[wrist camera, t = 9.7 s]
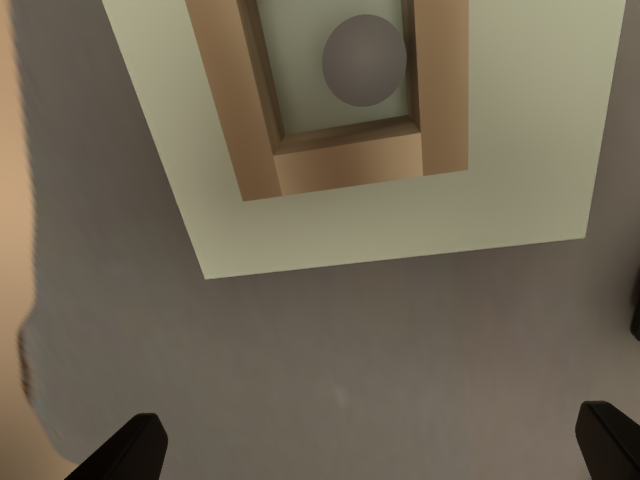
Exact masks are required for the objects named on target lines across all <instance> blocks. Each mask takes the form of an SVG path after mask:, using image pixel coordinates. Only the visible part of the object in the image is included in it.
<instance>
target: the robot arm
mask: <svg viewBox="0 0 640 480" xmlns="http://www.w3.org/2000/svg"><path fill="white" fill-rule="evenodd" d="M631 333H632V334H633V336H634V337H635V338H636V339H637V340H638V341H640V300H639V303H638V307H637V311H636V315H635V319H634V323H633V326H632V330H631ZM575 433H576V438H577V441H578V444H579V447H580V449H581V452H582V455H583V457H584V460H585V462H586V465H587V468H588V470H589V473H590V476H591V478H592V480H640V426H639V425H638V424H637V423H636V422H634V421H633V420H632V419H630V418H629V417H628V416H626V415H625V414H624V413H622V412H621V411H620V410H618V409H617V408H616V407H614V406H613V405H612V404H610V403H608V402H606V401H584V402H583V403H582V404H581V407H580V411H579V415H578V418H577V422H576V426H575ZM167 446H168V436H167V433H166V431H165V429H164V427H163V425H162V423H161V421H160V419H159V417H158V416H157V415H156V414H155V413H140V414H137V415H135V416H134V417H133V418H131V419H130V420H129V421H128V422H127V423H126V424H125V425H124V426H123V427H121V428H120V429H119V430H118V431H117V432H116V433H115V434H114V435H113V436H112V437H110V438H109V439H108V440H107V441H106V442H105V443H104V444H103V445H102V446H100V447H99V448H98V449H97V450H96V451H95V452H94V453H93V454H92V455H90V456H89V457H88V458H87V459H86V460H85V461H84V462H83V463H82V464H81V465H79V466H78V467H77V468H76V469H75V470H74V471H73V472H72V473H71V474H70V475H68V476H67V477H66V478H65V479H64V480H159V477H160V473H161V469H162V465H163V461H164V458H165V454H166V450H167Z"/></svg>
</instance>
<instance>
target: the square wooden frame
mask: <svg viewBox="0 0 640 480" xmlns="http://www.w3.org/2000/svg"><path fill="white" fill-rule="evenodd" d="M185 3H186V6H187V10H188V13H189V17H190V20H191V24H192V27H193V31H194V34H195V38H196V41H197V44H198V48H199V51H200V55H201V58H202V62H203V65H204V69H205V72H206V76H207V79H208V83H209V86H210V89H211V93H212V96H213V100H214V103H215V107H216V110H217V114H218V117H219V121H220V124H221V127H222V131H223V134H224V138H225V141H226V145H227V148H228V152H229V155H230V159H231V162H232V166H233V169H234V172H235V176H236V179H237V183H238V186H239V190H240V193H241V197H242V200H243V202H245V201H252V200H259V199H266V198H273V197H280V196H287V195H294V194H301V193H308V192H315V191H322V190H329V189H337V188H344V187H351V186H358V185H365V184H372V183H379V182H386V181H393V180H400V179H407V178H414V177H421V176H428V175H435V174H443V173H450V172H457V171H464V170H468V99H469V0H401V10H402V25H403V40H404V44H405V48H406V54H407V62H406V69H405V71H406V86H407V101H408V115H404V116H398V117H392V118H386V119H380V120H374V121H367V122H361V123H355V124H349V125H343V126H337V127H331V128H325V129H319V130H313V131H306V132H300V133H294V134H288V135H285V131H284V126H283V122H282V117H281V112H280V108H279V103H278V98H277V94H276V89H275V84H274V80H273V75H272V70H271V66H270V61H269V56H268V52H267V47H266V42H265V38H264V33H263V29H262V24H261V19H260V15H259V10H258V5H257V1H256V0H185Z"/></svg>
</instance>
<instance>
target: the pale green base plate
mask: <svg viewBox="0 0 640 480" xmlns="http://www.w3.org/2000/svg"><path fill="white" fill-rule="evenodd" d="M256 1H257V5H258V10H259V15H260V19H261V24H262V29H263V33H264V38H265V42H266V47H267V52H268V56H269V61H270V66H271V70H272V75H273V80H274V84H275V89H276V94H277V98H278V103H279V108H280V112H281V117H282V122H283V126H284V131H285V135H288V134H294V133H300V132H306V131H313V130H319V129H325V128H331V127H337V126H343V125H349V124H355V123H361V122H367V121H374V120H380V119H386V118H392V117H398V116H404V115H408V101H407V86H406V71H405V69H406V62H407V54H406V48H405V44H404V40H403V25H402V10H401V0H256ZM102 2H103V4H104V7H105V10H106V13H107V15H108V18H109V21H110V23H111V26H112V29H113V31H114V34H115V37H116V40H117V42H118V45H119V48H120V50H121V53H122V56H123V58H124V61H125V64H126V67H127V69H128V72H129V75H130V77H131V80H132V83H133V86H134V88H135V91H136V94H137V96H138V99H139V102H140V104H141V107H142V110H143V113H144V115H145V118H146V121H147V123H148V126H149V129H150V131H151V134H152V137H153V140H154V142H155V145H156V148H157V150H158V153H159V156H160V159H161V161H162V164H163V167H164V169H165V172H166V175H167V177H168V180H169V183H170V186H171V188H172V191H173V194H174V196H175V199H176V202H177V204H178V207H179V210H180V213H181V215H182V218H183V221H184V223H185V226H186V229H187V232H188V234H189V237H190V240H191V242H192V245H193V248H194V250H195V253H196V256H197V259H198V261H199V264H200V267H201V269H202V272H203V275H204V277H205V279H213V278H222V277H232V276H241V275H250V274H259V273H268V272H277V271H286V270H296V269H305V268H314V267H323V266H332V265H341V264H351V263H360V262H369V261H378V260H387V259H396V258H406V257H415V256H424V255H433V254H442V253H451V252H461V251H470V250H479V249H488V248H497V247H506V246H516V245H525V244H534V243H543V242H552V241H561V240H571V239H580V238H585V235H586V230H587V224H588V218H589V212H590V206H591V201H592V195H593V189H594V183H595V177H596V171H597V166H598V160H599V154H600V148H601V142H602V137H603V131H604V125H605V119H606V113H607V107H608V102H609V96H610V90H611V84H612V78H613V73H614V67H615V61H616V55H617V49H618V43H619V38H620V32H621V26H622V20H623V14H624V9H625V3H626V0H469V99H468V170H464V171H457V172H450V173H443V174H435V175H428V176H421V177H414V178H407V179H400V180H393V181H386V182H379V183H372V184H365V185H358V186H351V187H344V188H337V189H329V190H322V191H315V192H308V193H301V194H294V195H287V196H280V197H273V198H266V199H259V200H252V201H245V202H243V200H242V197H241V193H240V190H239V186H238V183H237V179H236V176H235V172H234V169H233V166H232V162H231V159H230V155H229V152H228V148H227V145H226V141H225V138H224V134H223V131H222V127H221V124H220V121H219V117H218V114H217V110H216V107H215V103H214V100H213V96H212V93H211V89H210V86H209V83H208V79H207V76H206V72H205V69H204V65H203V62H202V58H201V55H200V51H199V48H198V44H197V41H196V38H195V34H194V31H193V27H192V24H191V20H190V17H189V13H188V10H187V6H186V3H185V0H102Z"/></svg>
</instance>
